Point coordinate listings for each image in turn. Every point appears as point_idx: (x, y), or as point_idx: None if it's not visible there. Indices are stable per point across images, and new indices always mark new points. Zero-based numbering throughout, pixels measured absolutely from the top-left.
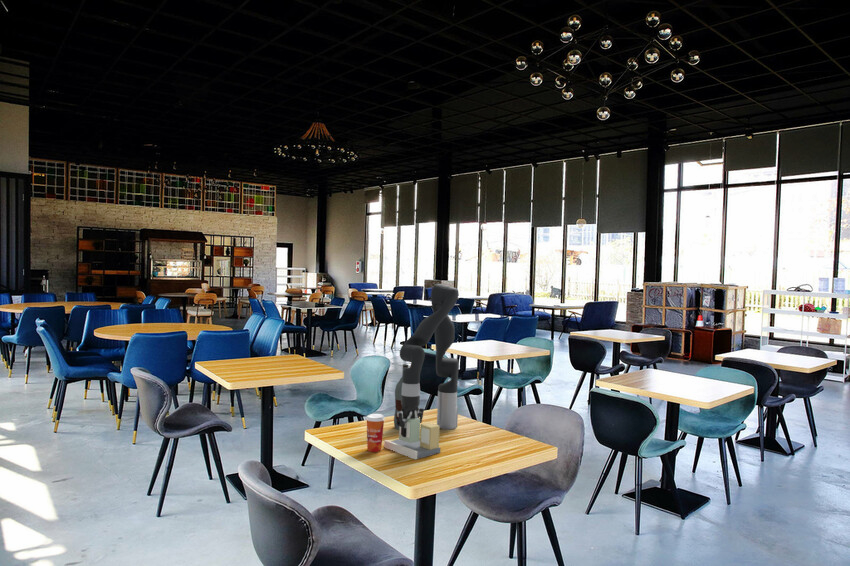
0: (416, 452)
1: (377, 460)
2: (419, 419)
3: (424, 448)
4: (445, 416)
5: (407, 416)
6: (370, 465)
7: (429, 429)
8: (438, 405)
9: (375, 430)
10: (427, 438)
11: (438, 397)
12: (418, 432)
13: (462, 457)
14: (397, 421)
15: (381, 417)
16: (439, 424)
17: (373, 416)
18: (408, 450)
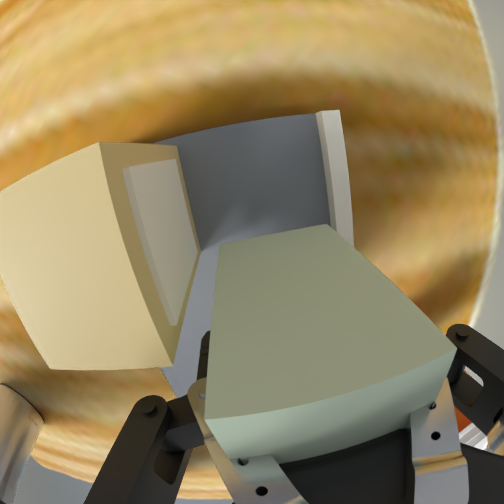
0: (329, 110)
1: (460, 216)
2: (228, 407)
3: (196, 192)
4: (6, 426)
5: (451, 443)
6: (494, 182)
7: (121, 170)
8: (18, 469)
9: (469, 375)
10: (168, 180)
11: (13, 490)
12: (236, 275)
13: (56, 54)
14: (481, 386)
15: (483, 437)
16: (33, 419)
17: (481, 447)
18: (345, 185)
